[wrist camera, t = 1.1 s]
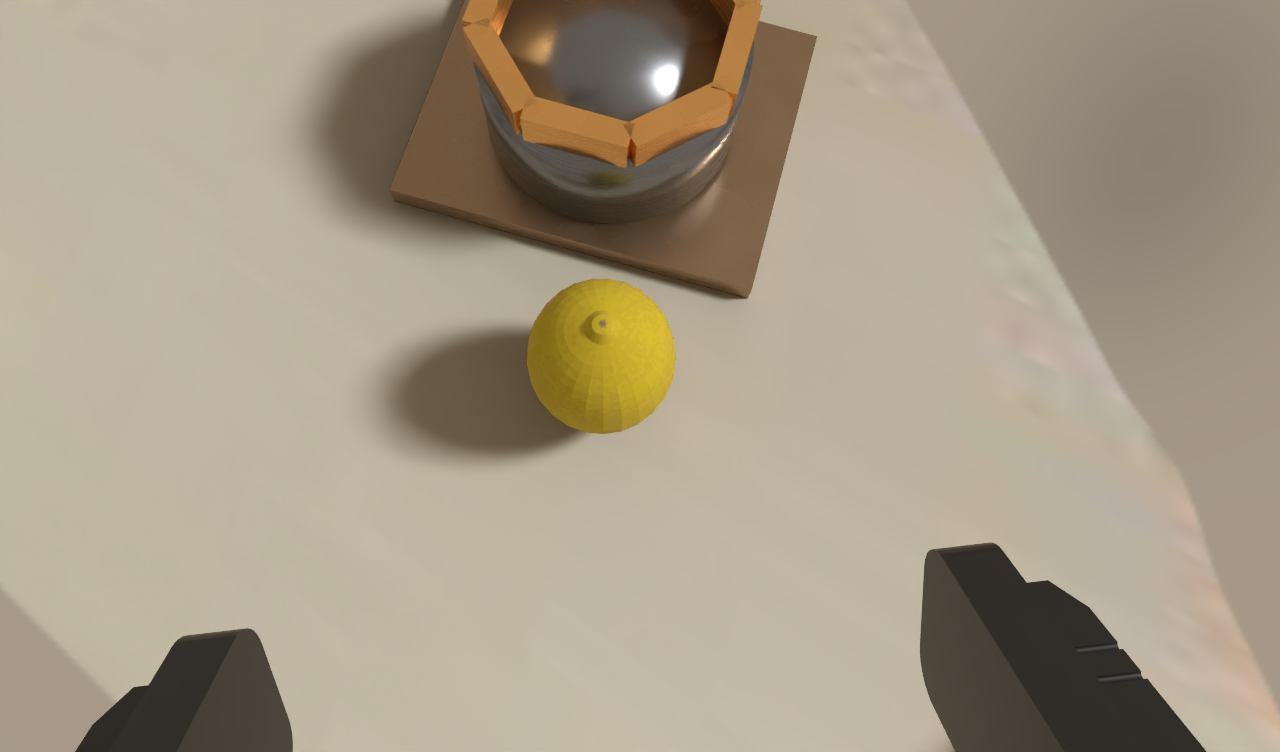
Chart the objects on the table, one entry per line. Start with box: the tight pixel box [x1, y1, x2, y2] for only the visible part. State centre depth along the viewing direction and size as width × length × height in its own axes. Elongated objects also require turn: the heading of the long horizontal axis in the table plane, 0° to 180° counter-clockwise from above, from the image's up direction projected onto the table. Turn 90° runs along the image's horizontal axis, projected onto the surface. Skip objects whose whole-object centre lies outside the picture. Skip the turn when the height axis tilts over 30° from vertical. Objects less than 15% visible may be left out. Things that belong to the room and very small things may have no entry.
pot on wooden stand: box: [390, 0, 817, 298], centre depth 36 cm, size 16×13×8 cm
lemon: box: [527, 279, 676, 434], centre depth 33 cm, size 6×6×8 cm
